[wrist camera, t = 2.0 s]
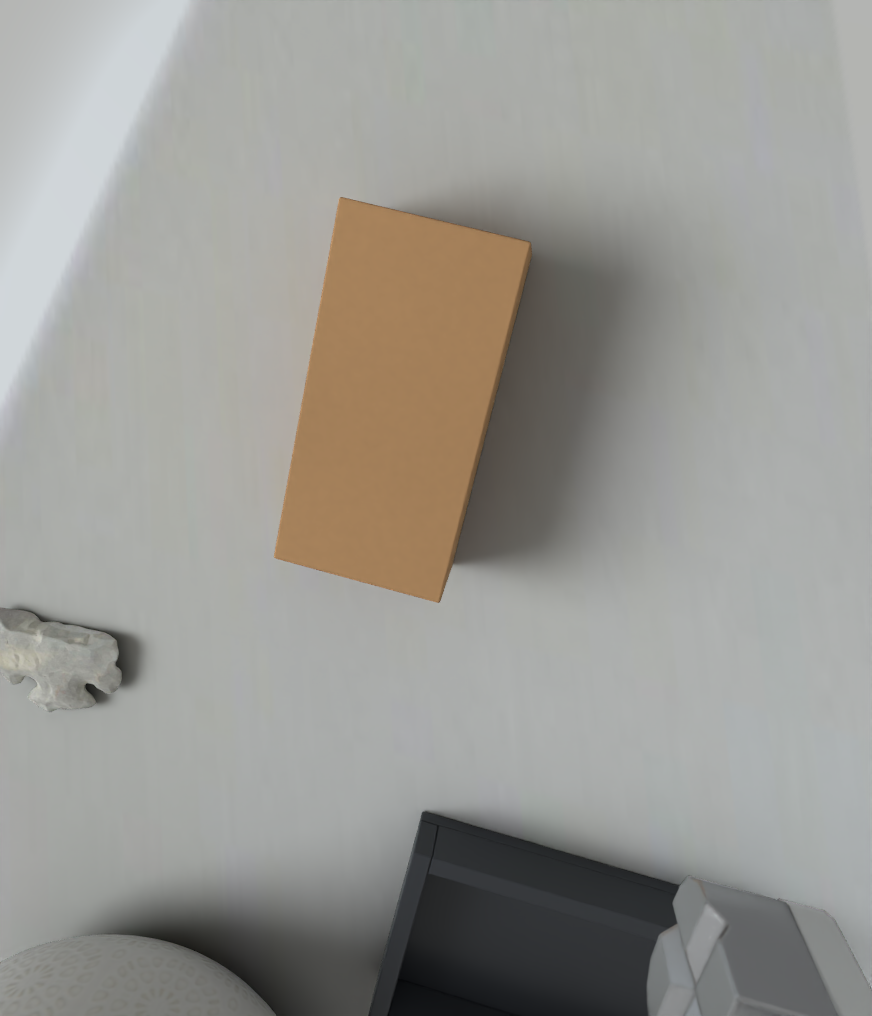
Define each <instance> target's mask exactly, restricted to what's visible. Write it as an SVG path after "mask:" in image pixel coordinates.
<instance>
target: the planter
mask: <svg viewBox="0 0 872 1016" xmlns="http://www.w3.org/2000/svg"><path fill="white" fill-rule="evenodd" d="M0 1016H276V1014H275V1013H274V1012H273V1010H272V1009H271V1008H270V1007H269V1006H268V1005H267V1003H266V1002H265V1001H264V1000H263V999H262V998H261V997H260V996H259V995H258V994H257V993H256V992H255V991H254V990H253V989H252V988H251V987H250V986H249V985H248V984H246V983H245V982H244V981H243V980H242V979H240V978H239V977H238V976H237V975H235V974H234V973H232V972H231V971H230V970H228V969H227V968H225V967H224V966H222V965H220V964H219V963H217V962H215V961H214V960H212V959H210V958H208V957H206V956H204V955H202V954H200V953H198V952H196V951H193V950H191V949H188V948H186V947H183V946H180V945H177V944H174V943H171V942H167V941H163V940H159V939H154V938H148V937H141V936H134V935H118V934H101V935H88V936H79V937H72V938H67V939H62V940H57V941H53V942H49V943H45V944H42V945H39V946H36V947H33V948H31V949H28V950H25V951H23V952H20V953H18V954H15V955H13V956H11V957H9V958H7V959H5V960H3V961H1V962H0Z"/></svg>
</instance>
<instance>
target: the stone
mask: <svg viewBox="0 0 872 1016" xmlns="http://www.w3.org/2000/svg"><path fill="white" fill-rule="evenodd" d="M118 656H119V650H118V647H117V640H115V639H114V638H113V637H111V636H110V635H109V634H107V633H105V632H100V631H96V630H90V629H86V628H83V627H80V626H76V625H64V624H62V623H59V622H55V621H52V622H41V621H40V620H39V619H38V617H37V616H36V615H35V614H33V613H31V612H27V611H23V610H16V609H6V608H0V673H1V674H2V675H3V676H4V677H5V678H6V679H7V680H8V681H9V682H10V683H11V684H14V685H15V684H18V683H21V682H22V680H23V678H24V677H25V676H28V677H31V678H33V679H34V680H35V681H36V682H37V686H36V687H35V688H34V689H32V691H31V692H30V693H29V695H28V699H30V700H31V701H32V702H34V703H35V704H36V705H37V706H38V707H40V708H42V709H43V710H45V711H49V712H52V711H54V710H56V709H60V708H62V709H81V708H89V707H92V706H94V705H95V704H96V701H95V700H94V698H93V696H92V695H91V694H90V693H89V692H87V690H86V689H85V684H86V683H90V684H94V685H95V687H96V688H98V689H100V690H103V692H104V693H106V694H108V693H113V692H115V691H116V690H117V689H118V686H119V685H120V684H121V680H122V672H121V670H120V669H119V668H118V667H116V665H115V662H116V661H117V659H118Z"/></svg>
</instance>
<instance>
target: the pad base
mask: <svg viewBox="0 0 872 1016" xmlns="http://www.w3.org/2000/svg"><path fill="white" fill-rule="evenodd" d="M678 889H679V886H677V885H674V884H670V883H667V882H663V881H660V880H656V879H653V878H650V877H646V876H643V875H639V874H636V873H632V872H629V871H626V870H622V869H619V868H615V867H612V866H609V865H605V864H602V863H598V862H595V861H591V860H588V859H585V858H581V857H578V856H574V855H571V854H567V853H564V852H561V851H557V850H554V849H550V848H547V847H543V846H540V845H537V844H533V843H530V842H526V841H523V840H519V839H516V838H513V837H509V836H506V835H502V834H499V833H495V832H492V831H489V830H485V829H482V828H478V827H475V826H472V825H468V824H465V823H461V822H458V821H454V820H451V819H448V818H444V817H441V816H437V815H434V814H430V813H427V812H422V815H421V819H420V823H419V826H418V830H417V834H416V837H415V841H414V845H413V848H412V852H411V856H410V860H409V863H408V867H407V871H406V874H405V878H404V882H403V885H402V889H401V893H400V896H399V900H398V904H397V907H396V911H395V915H394V918H393V922H392V926H391V930H390V933H389V937H388V941H387V944H386V948H385V952H384V955H383V959H382V963H381V966H380V970H379V974H378V978H377V982H376V986H375V990H374V994H373V999H372V1003H371V1007H370V1011H369V1015H368V1016H648V1010H647V992H646V984H647V977H648V970H649V964H650V958H651V955H652V953H653V950H654V947H655V944H656V942H657V939H658V936H659V934H661V933H662V932H664V931H666V930H667V929H669V928H671V927H672V926H674V925H676V924H677V920H676V916H675V912H674V908H673V904H672V902H673V900H674V898H675V896H676V893H677V891H678Z"/></svg>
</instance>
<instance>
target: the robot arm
mask: <svg viewBox="0 0 872 1016" xmlns="http://www.w3.org/2000/svg"><path fill="white" fill-rule="evenodd" d="M672 904H673V908H674V912H675V916H676V920H677V924H676V925H674V926H672V927H671V928H669V929H667V930H666V931H664V932H662V933H661V934H659V936H658V939H657V942H656V944H655V947H654V950H653V953H652V955H651V958H650V964H649V970H648V977H647V984H646V992H647V1010H648V1016H872V989H871V987H870V986H869V984H868V982H867V980H866V978H865V976H864V974H863V972H862V970H861V968H860V966H859V965H858V963H857V961H856V959H855V957H854V955H853V953H852V951H851V949H850V947H849V945H848V944H847V942H846V940H845V938H844V936H843V934H842V932H841V930H840V928H839V926H838V925H837V923H836V921H835V920H834V918H832V917H831V916H830V915H829V914H828V913H827V912H826V911H825V910H822V909H818V908H814V907H810V906H806V905H802V904H798V903H794V902H790V901H786V900H782V899H777V900H776V899H772V898H769V897H765V896H761V895H758V894H754V893H751V892H747V891H744V890H740V889H737V888H733V887H729V886H726V885H722V884H719V883H715V882H712V881H708V880H704V879H701V878H697V877H694V876H690V875H688V876H687V878H686V879H685V880H684V881H683V882H682V883H681V884H680V886H679V889H678V891H677V893H676V896H675V898H674V900H673V902H672Z"/></svg>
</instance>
